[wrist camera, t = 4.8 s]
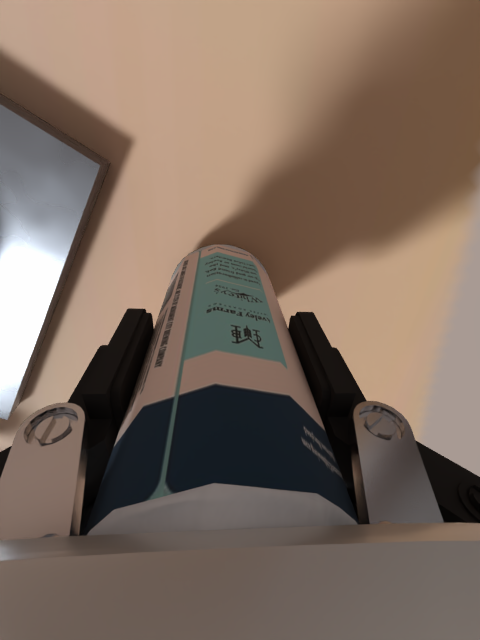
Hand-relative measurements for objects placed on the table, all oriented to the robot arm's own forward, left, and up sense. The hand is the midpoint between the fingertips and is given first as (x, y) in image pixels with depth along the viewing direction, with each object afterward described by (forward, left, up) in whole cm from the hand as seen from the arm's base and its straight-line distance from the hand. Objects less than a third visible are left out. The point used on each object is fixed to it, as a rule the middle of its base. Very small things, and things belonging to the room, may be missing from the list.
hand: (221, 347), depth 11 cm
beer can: (0, 0, -5) cm, 5 cm away
